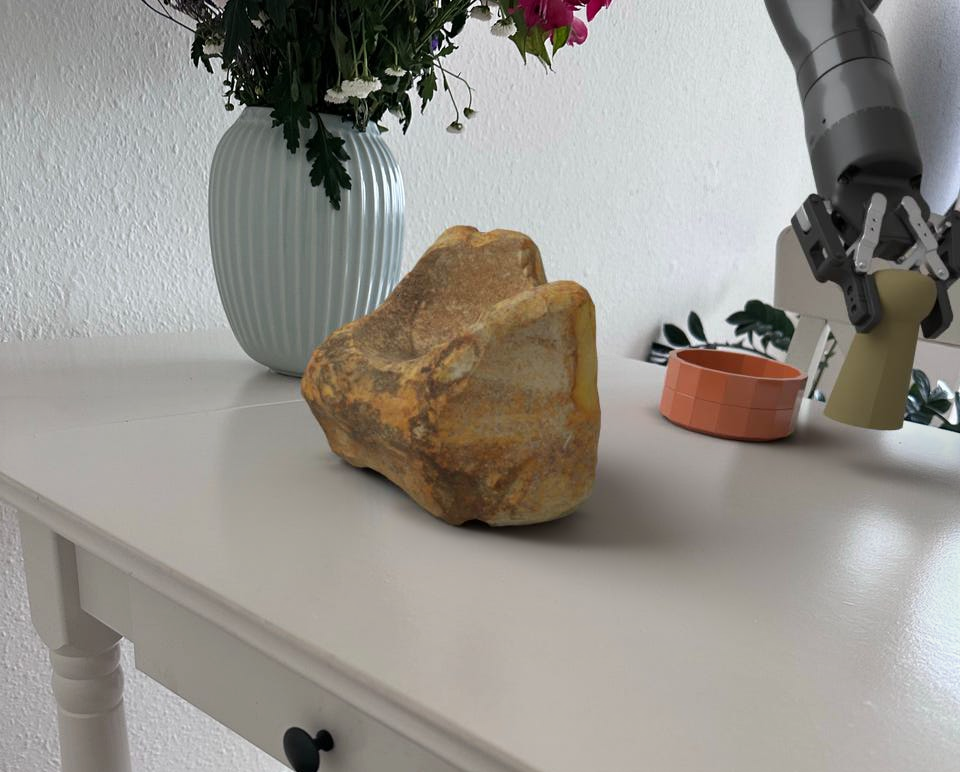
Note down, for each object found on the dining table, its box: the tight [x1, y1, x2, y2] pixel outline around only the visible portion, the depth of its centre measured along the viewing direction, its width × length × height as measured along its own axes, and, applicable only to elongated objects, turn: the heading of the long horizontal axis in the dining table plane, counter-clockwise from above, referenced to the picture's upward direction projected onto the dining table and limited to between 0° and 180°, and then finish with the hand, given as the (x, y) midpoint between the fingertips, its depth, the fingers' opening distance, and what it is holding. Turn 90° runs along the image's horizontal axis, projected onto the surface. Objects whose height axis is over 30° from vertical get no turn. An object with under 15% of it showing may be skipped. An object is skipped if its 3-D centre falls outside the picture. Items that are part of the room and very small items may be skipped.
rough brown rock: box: [300, 224, 602, 527], centre depth 60 cm, size 23×17×15 cm
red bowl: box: [658, 347, 809, 442], centre depth 85 cm, size 12×12×6 cm
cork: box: [822, 268, 937, 432], centre depth 73 cm, size 6×6×11 cm
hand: (904, 329), depth 70 cm, fingers closed on cork, 5 cm apart
